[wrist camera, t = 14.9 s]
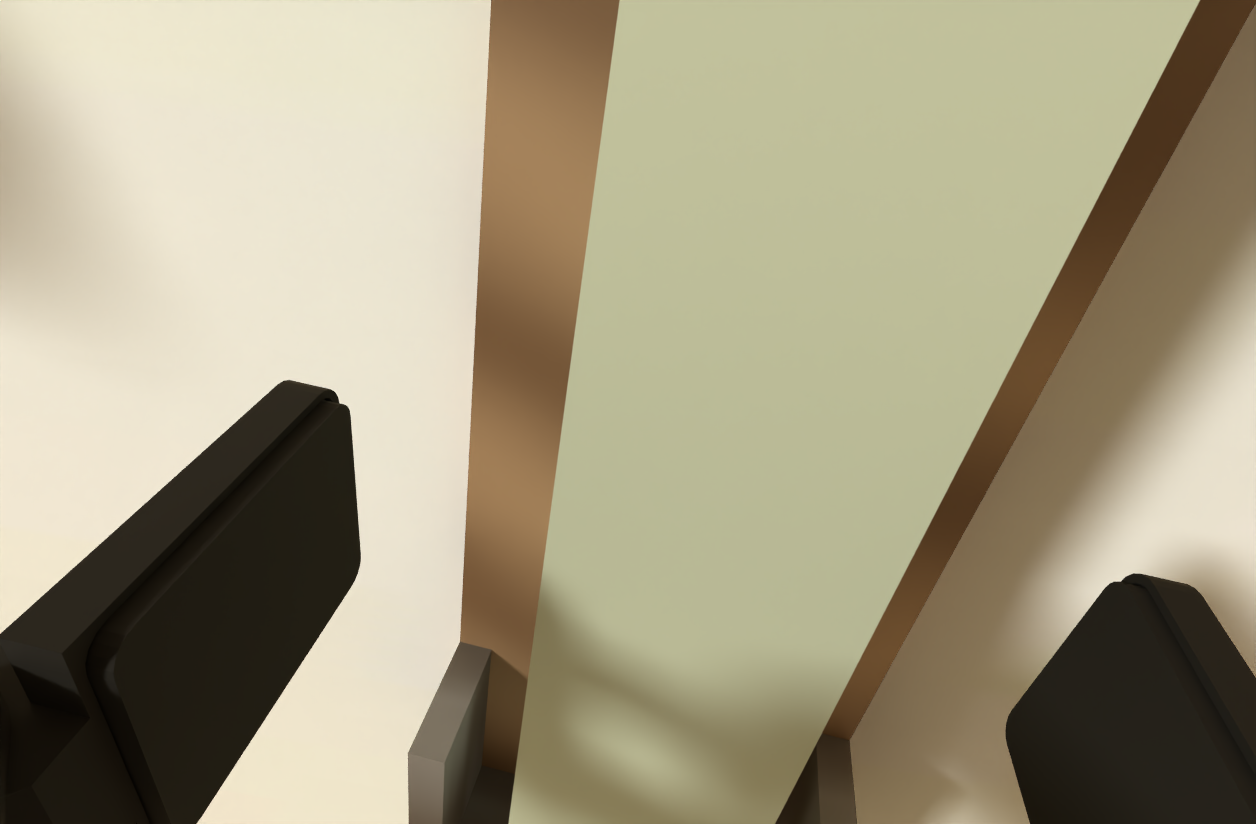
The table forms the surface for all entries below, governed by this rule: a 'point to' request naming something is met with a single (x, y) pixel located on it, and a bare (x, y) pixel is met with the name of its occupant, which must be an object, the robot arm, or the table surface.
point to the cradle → (539, 371)
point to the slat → (792, 361)
